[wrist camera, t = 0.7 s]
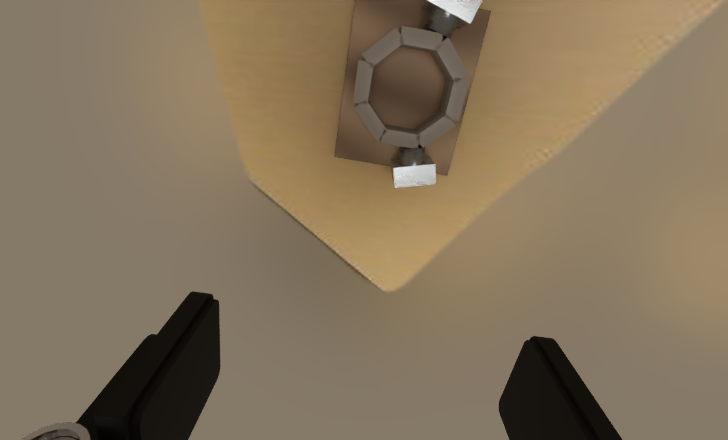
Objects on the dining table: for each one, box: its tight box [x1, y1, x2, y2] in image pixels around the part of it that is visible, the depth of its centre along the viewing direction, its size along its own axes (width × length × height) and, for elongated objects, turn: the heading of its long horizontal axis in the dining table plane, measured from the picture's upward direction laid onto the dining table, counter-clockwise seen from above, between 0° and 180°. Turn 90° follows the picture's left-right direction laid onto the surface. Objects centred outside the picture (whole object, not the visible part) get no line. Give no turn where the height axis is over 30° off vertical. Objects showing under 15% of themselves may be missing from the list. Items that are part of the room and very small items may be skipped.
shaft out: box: [391, 145, 436, 188], centre depth 32 cm, size 3×4×4 cm
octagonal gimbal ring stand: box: [334, 0, 491, 175], centre depth 30 cm, size 14×11×4 cm
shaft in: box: [421, 0, 482, 39], centre depth 27 cm, size 3×4×4 cm
